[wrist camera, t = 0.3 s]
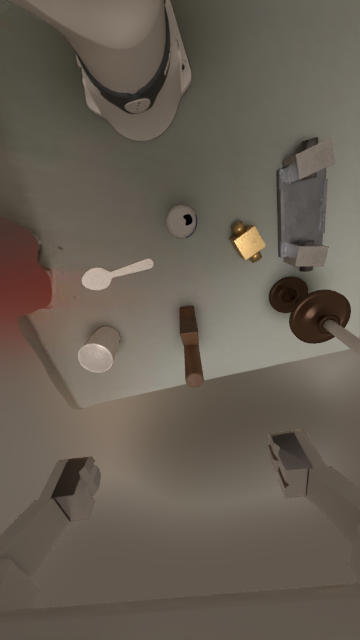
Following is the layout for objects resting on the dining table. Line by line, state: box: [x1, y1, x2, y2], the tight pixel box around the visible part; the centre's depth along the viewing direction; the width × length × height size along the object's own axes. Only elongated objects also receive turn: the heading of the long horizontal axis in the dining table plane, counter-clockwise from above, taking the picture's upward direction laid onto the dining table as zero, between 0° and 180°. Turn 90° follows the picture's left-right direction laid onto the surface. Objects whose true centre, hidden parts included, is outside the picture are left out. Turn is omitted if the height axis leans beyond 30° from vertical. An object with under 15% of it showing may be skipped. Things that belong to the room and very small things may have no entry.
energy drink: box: [166, 205, 197, 239], centre depth 43 cm, size 5×5×12 cm
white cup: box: [78, 326, 120, 372], centre depth 56 cm, size 8×8×10 cm
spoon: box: [82, 259, 153, 290], centre depth 53 cm, size 5×18×1 cm, turn 106°
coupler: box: [230, 221, 266, 263], centre depth 48 cm, size 9×5×5 cm, turn 37°
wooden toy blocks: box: [180, 306, 204, 387], centre depth 51 cm, size 4×11×18 cm, turn 8°
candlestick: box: [269, 277, 360, 355], centre depth 40 cm, size 11×11×35 cm
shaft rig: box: [277, 137, 334, 271], centre depth 45 cm, size 23×9×6 cm, turn 12°
